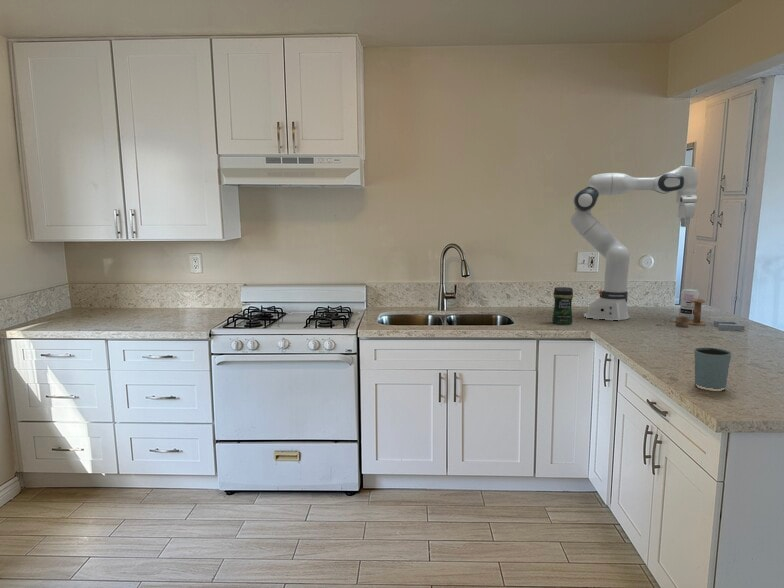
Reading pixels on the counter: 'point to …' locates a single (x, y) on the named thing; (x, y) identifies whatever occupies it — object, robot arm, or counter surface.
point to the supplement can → (688, 302)
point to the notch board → (728, 325)
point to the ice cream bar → (681, 321)
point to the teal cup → (711, 367)
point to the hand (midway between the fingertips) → (684, 227)
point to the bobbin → (697, 312)
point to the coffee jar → (562, 305)
